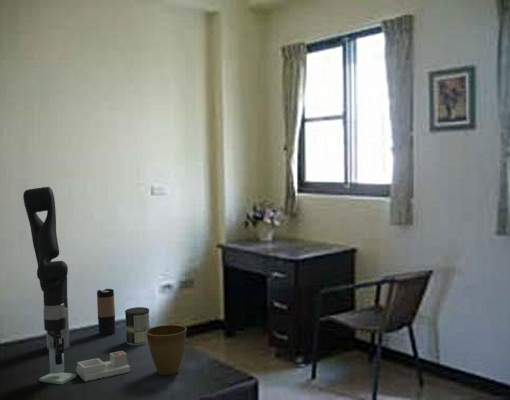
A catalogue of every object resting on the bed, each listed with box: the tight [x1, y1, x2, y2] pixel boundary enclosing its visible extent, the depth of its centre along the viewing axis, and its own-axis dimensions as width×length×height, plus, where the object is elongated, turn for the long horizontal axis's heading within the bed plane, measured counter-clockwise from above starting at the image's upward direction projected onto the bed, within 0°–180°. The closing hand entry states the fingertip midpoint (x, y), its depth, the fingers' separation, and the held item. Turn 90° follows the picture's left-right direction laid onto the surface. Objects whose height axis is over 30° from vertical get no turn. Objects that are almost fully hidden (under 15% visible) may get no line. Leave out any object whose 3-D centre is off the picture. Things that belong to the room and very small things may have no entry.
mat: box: [38, 371, 77, 385], centre depth 226 cm, size 10×8×1 cm
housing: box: [75, 350, 131, 382], centre depth 231 cm, size 11×17×6 cm, turn 122°
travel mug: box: [96, 288, 116, 337], centre depth 283 cm, size 8×8×20 cm
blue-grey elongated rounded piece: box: [48, 344, 65, 374], centre depth 225 cm, size 5×5×10 cm
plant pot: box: [146, 324, 187, 376], centre depth 230 cm, size 15×15×16 cm
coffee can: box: [124, 306, 150, 346], centre depth 269 cm, size 10×10×14 cm
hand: (56, 361), depth 225 cm, fingers closed on blue-grey elongated rounded piece, 5 cm apart
